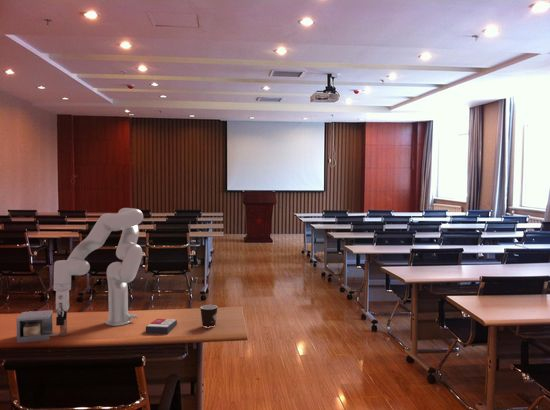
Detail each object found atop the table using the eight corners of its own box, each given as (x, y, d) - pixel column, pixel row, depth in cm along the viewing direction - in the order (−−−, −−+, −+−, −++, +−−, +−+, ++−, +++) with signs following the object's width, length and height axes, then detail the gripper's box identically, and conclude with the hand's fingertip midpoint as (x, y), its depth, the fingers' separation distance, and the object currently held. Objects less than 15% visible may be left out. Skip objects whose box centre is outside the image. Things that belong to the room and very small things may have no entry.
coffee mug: (206, 330, 230) (206, 310, 230) (197, 326, 237) (197, 306, 237) (225, 325, 238) (225, 306, 238) (216, 321, 245) (216, 303, 244)
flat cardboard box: (177, 318, 239) (167, 326, 224) (177, 327, 239) (167, 335, 224) (156, 318, 240) (145, 325, 225) (156, 326, 240) (145, 334, 225)
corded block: (67, 332, 225) (67, 318, 225) (66, 336, 220) (65, 322, 219) (26, 336, 220) (26, 321, 220) (23, 340, 214) (23, 325, 214)
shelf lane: (52, 332, 226) (52, 310, 226) (48, 340, 215) (48, 316, 214) (22, 335, 222) (22, 312, 222) (16, 342, 211) (16, 318, 211)
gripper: (68, 289, 214) (67, 327, 214) (73, 283, 230) (72, 317, 231) (50, 290, 212) (49, 328, 212) (56, 283, 228) (55, 318, 228)
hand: (61, 322), depth 221 cm, fingers open, 9 cm apart
